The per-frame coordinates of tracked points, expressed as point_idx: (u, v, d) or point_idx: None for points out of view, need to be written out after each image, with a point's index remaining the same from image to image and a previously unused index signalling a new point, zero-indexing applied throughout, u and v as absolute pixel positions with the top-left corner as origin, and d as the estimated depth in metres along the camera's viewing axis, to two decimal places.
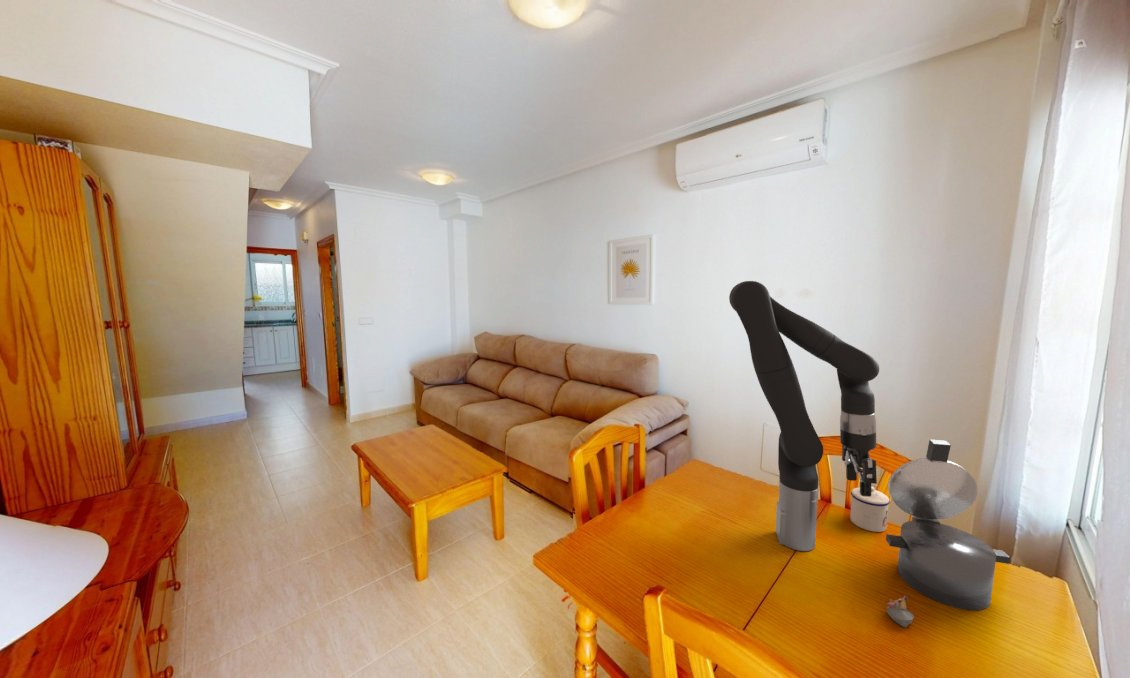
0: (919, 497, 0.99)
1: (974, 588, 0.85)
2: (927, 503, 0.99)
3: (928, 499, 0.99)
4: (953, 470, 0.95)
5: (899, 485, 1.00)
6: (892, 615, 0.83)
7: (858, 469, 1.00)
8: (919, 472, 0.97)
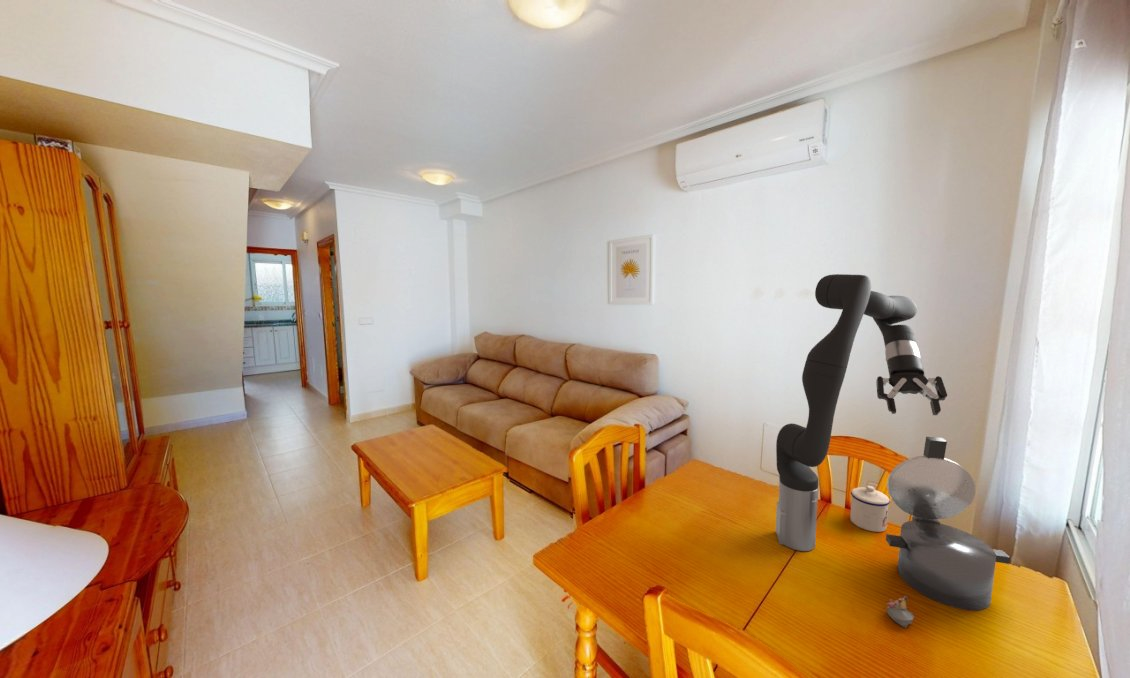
0: (918, 496, 1.00)
1: (974, 588, 0.85)
2: (926, 502, 0.99)
3: (927, 498, 0.99)
4: (951, 467, 0.96)
5: (898, 483, 1.01)
6: (892, 615, 0.83)
7: None
8: (917, 470, 0.98)
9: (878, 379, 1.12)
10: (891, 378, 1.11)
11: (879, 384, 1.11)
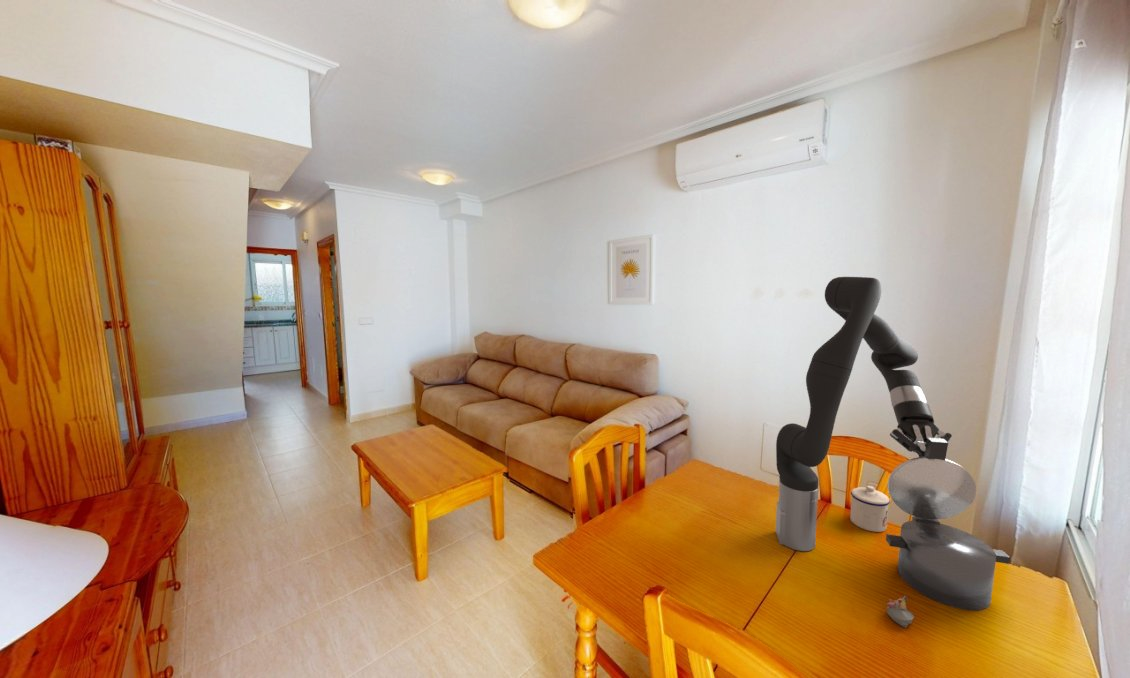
0: (918, 496, 1.00)
1: (974, 588, 0.85)
2: (927, 502, 0.99)
3: (927, 498, 0.99)
4: (952, 468, 0.96)
5: (898, 484, 1.00)
6: (892, 615, 0.83)
7: None
8: (918, 470, 0.98)
9: (896, 433, 1.04)
10: (902, 426, 1.05)
11: (902, 437, 1.03)
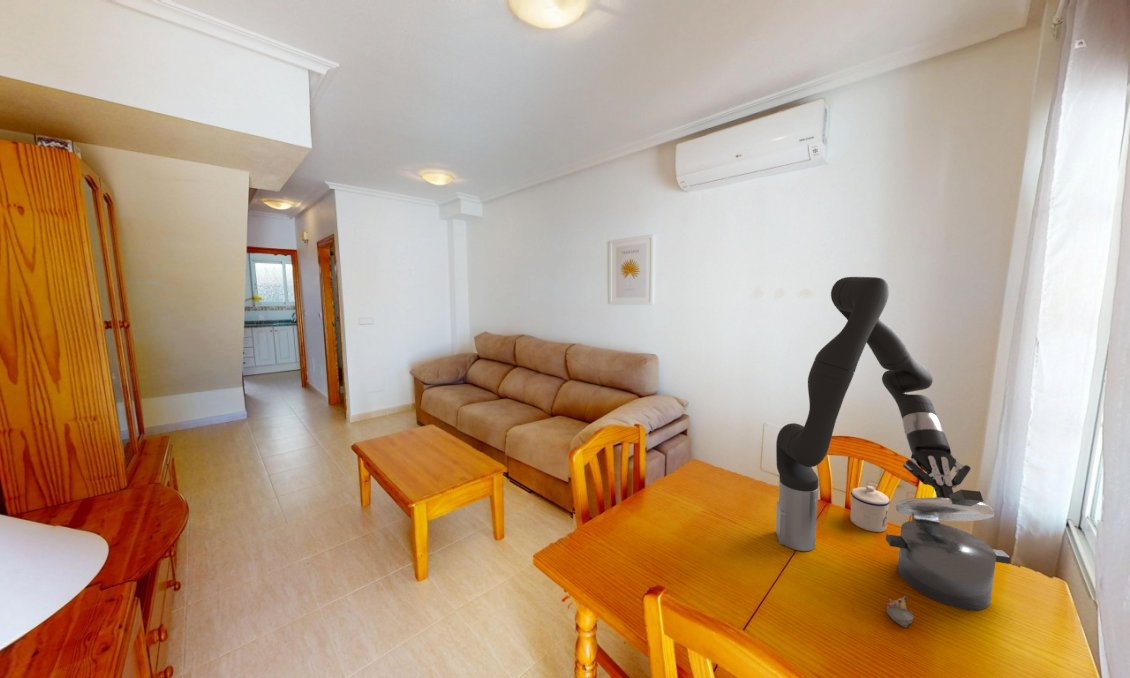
0: (926, 512, 0.96)
1: (974, 588, 0.85)
2: (932, 515, 0.97)
3: (935, 514, 0.96)
4: (975, 509, 0.87)
5: (908, 507, 0.95)
6: (892, 615, 0.83)
7: None
8: (935, 506, 0.91)
9: (910, 464, 0.97)
10: (917, 456, 0.98)
11: (917, 469, 0.96)
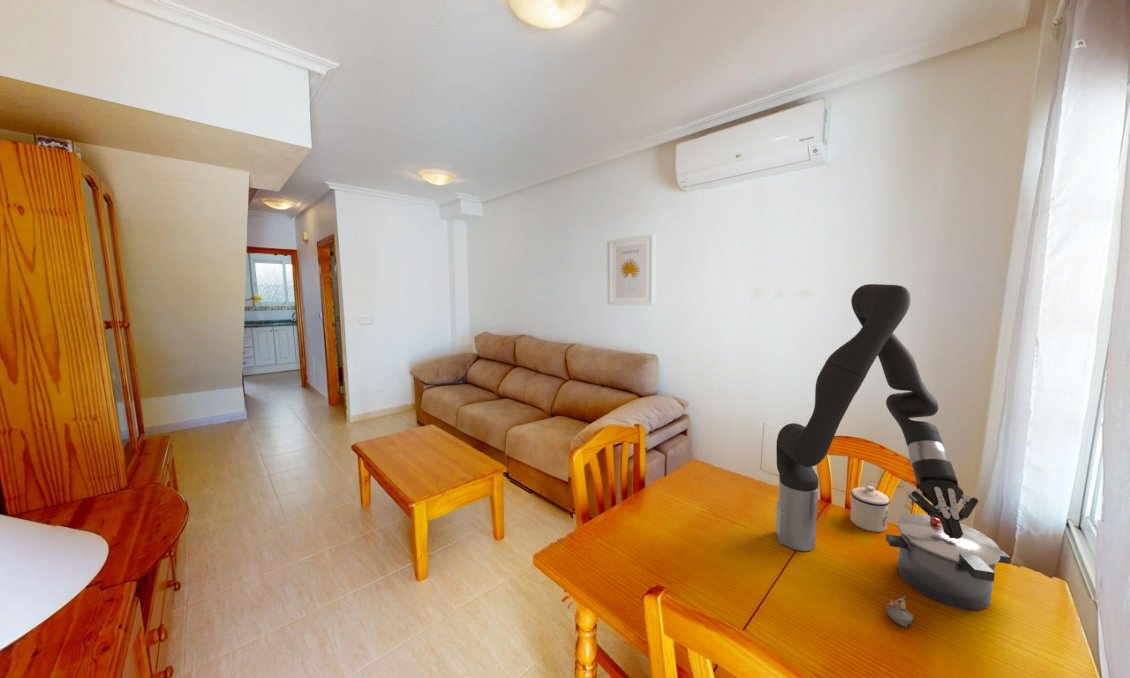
0: None
1: (974, 588, 0.85)
2: None
3: None
4: None
5: None
6: (892, 615, 0.83)
7: None
8: None
9: (915, 495, 0.94)
10: (922, 487, 0.95)
11: (922, 501, 0.93)
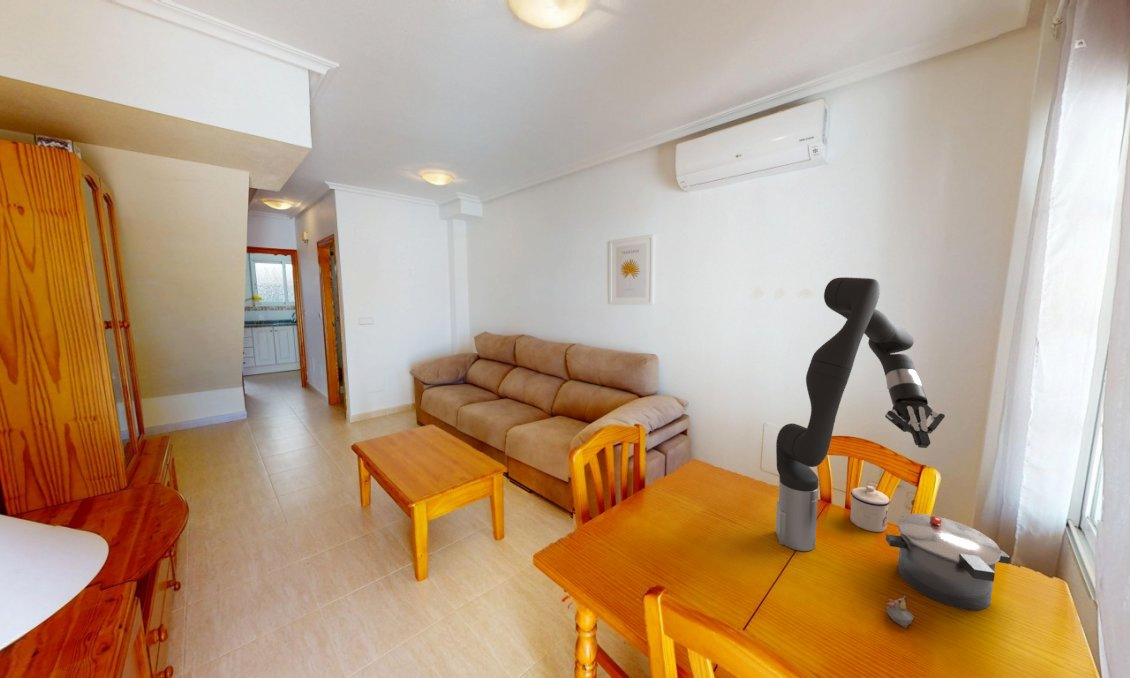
0: None
1: (974, 588, 0.85)
2: None
3: None
4: None
5: None
6: (892, 615, 0.83)
7: None
8: None
9: (891, 414, 1.08)
10: (897, 407, 1.08)
11: (896, 418, 1.07)
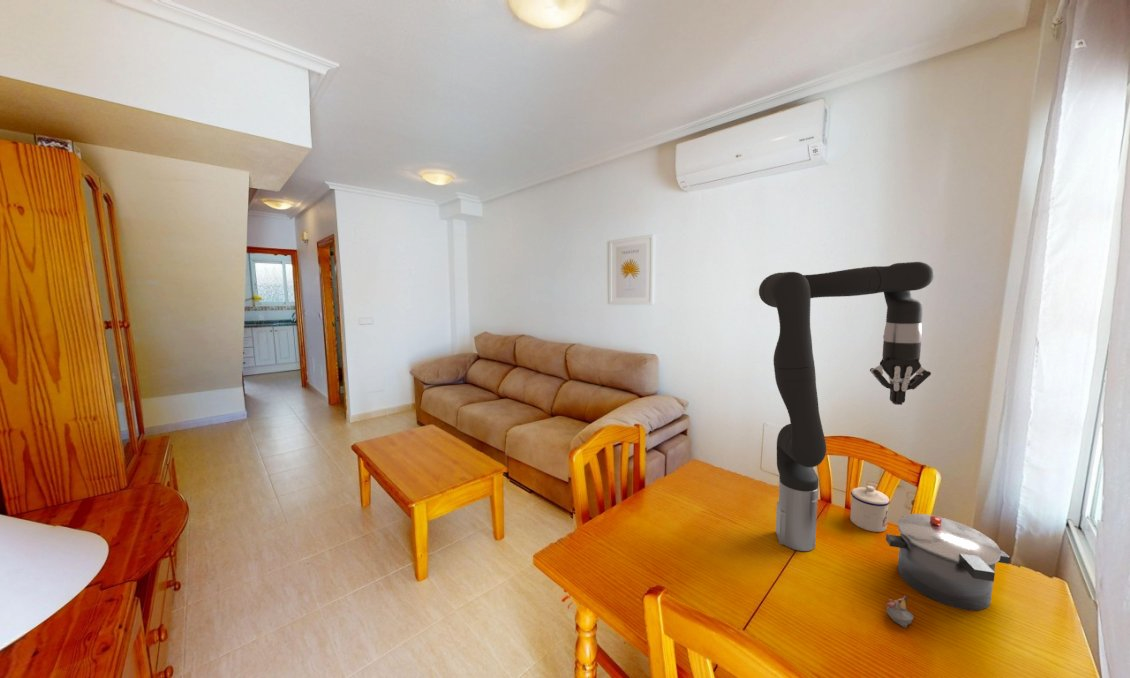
0: None
1: (974, 588, 0.85)
2: None
3: None
4: None
5: None
6: (892, 615, 0.83)
7: None
8: None
9: (875, 373, 1.05)
10: (885, 365, 1.04)
11: (880, 378, 1.05)
